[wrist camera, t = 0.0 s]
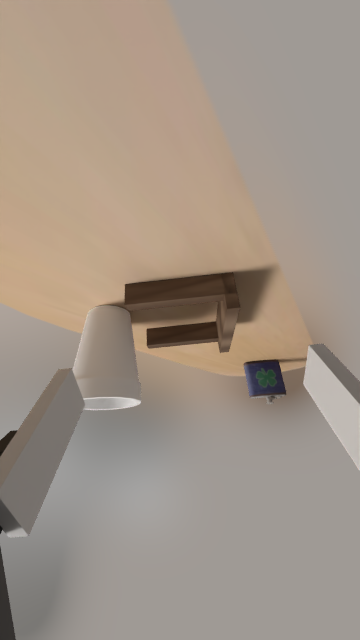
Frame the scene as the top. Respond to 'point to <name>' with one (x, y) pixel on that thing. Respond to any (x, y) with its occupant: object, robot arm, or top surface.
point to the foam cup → (107, 360)
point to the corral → (184, 294)
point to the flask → (264, 379)
